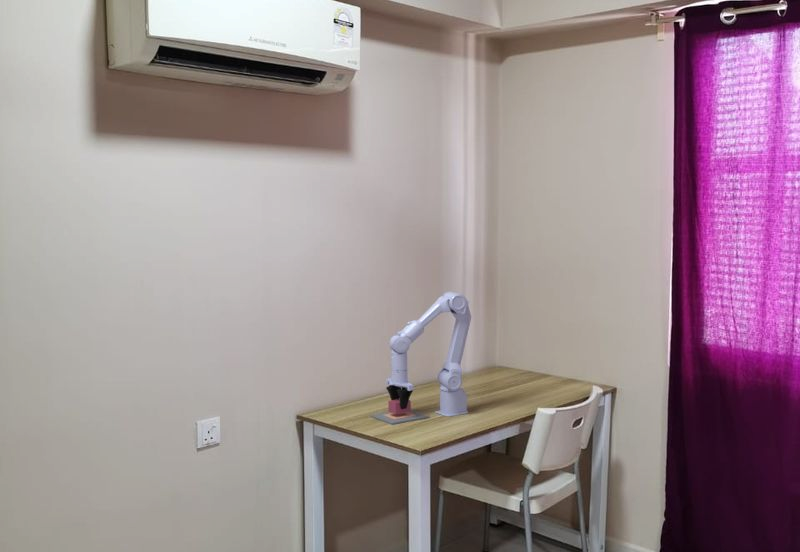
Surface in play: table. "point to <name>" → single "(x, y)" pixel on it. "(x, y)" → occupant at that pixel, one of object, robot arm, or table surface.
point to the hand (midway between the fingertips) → (399, 407)
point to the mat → (399, 417)
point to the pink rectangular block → (398, 407)
